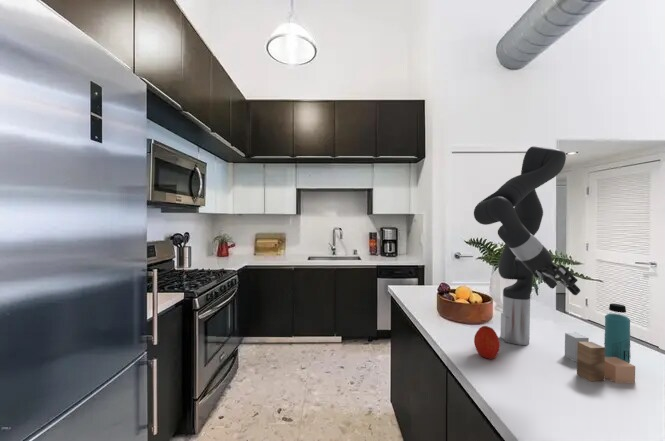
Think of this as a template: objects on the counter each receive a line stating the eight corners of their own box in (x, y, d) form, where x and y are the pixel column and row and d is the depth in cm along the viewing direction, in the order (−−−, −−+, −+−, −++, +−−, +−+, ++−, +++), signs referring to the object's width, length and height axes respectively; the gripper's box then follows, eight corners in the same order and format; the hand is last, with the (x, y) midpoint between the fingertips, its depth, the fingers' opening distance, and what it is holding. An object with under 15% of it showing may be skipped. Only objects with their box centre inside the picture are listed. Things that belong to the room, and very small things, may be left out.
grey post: (575, 361, 104) (575, 337, 104) (564, 355, 109) (565, 332, 109) (588, 361, 105) (588, 337, 105) (577, 355, 109) (577, 332, 109)
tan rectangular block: (589, 381, 91) (590, 347, 91) (576, 374, 96) (577, 341, 96) (604, 381, 92) (605, 347, 92) (590, 373, 96) (591, 341, 96)
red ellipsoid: (469, 350, 112) (470, 321, 112) (492, 351, 111) (493, 321, 111) (479, 361, 103) (480, 329, 103) (504, 362, 103) (505, 329, 103)
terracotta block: (615, 383, 91) (615, 366, 91) (597, 373, 97) (597, 357, 97) (634, 383, 91) (635, 366, 91) (615, 372, 97) (615, 357, 97)
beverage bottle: (625, 371, 98) (626, 308, 98) (599, 362, 104) (600, 303, 104) (634, 367, 101) (635, 305, 101) (608, 358, 107) (610, 300, 107)
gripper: (556, 244, 85) (595, 286, 86) (522, 240, 99) (555, 276, 100) (538, 263, 85) (576, 305, 86) (505, 256, 99) (539, 292, 100)
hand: (565, 289), depth 93 cm, fingers open, 8 cm apart
